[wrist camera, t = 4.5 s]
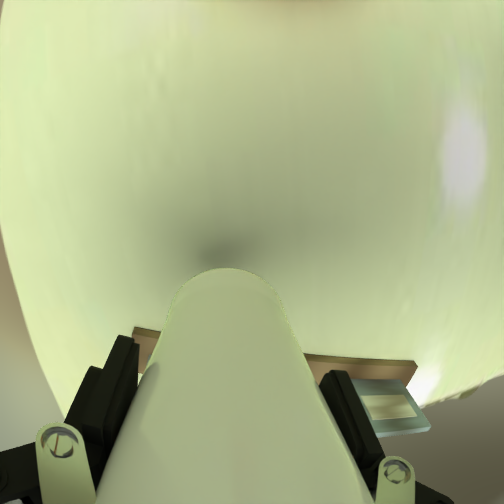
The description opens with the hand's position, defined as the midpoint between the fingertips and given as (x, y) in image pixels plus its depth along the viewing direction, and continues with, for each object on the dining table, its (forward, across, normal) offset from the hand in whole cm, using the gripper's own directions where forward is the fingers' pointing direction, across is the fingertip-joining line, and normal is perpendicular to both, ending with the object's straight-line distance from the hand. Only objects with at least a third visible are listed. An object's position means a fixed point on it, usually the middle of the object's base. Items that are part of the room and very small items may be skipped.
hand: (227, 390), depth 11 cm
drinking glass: (+5, 0, 0) cm, 5 cm away
